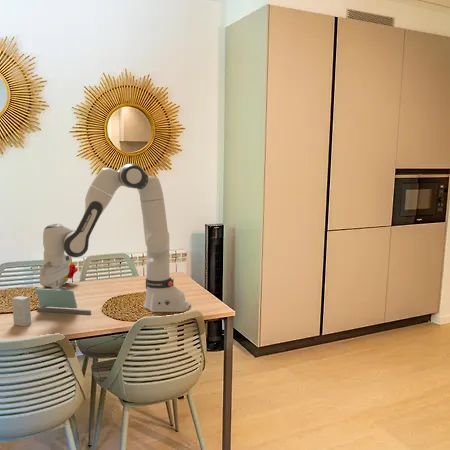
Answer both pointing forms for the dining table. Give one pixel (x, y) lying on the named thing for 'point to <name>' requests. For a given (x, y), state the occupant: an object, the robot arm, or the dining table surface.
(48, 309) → the grey flat board
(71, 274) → the electrical switch box
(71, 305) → the cover
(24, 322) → the skincare box
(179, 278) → the dining table surface
